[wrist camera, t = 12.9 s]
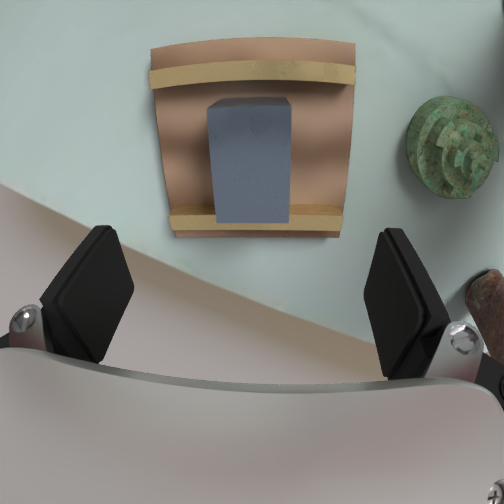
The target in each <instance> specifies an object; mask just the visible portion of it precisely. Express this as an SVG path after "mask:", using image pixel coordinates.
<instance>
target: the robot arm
mask: <svg viewBox="0 0 504 504" xmlns="http://www.w3.org/2000/svg"><path fill="white" fill-rule="evenodd" d="M133 292H134V284H133V281H132V278H131V275H130V272H129V269H128V267H127V264H126V261H125V258H124V255H123V252H122V248H121V245H120V242H119V239H118V236H117V233H116V231H115V230H114V229H112V227H111V226H109V225H100V226H95V227H94V228H93V229H92V230H91V232H90V233H89V234H88V235H87V237H86V238H85V239H84V240H83V241H82V243H81V244H80V245H79V246H78V248H77V249H76V250H75V251H74V253H73V254H72V255H71V256H70V258H69V259H68V260H67V262H66V263H65V264H64V266H63V267H62V268H61V270H60V271H59V272H58V274H57V275H56V276H55V278H54V279H53V281H52V282H51V284H50V285H49V286H48V288H47V289H46V291H45V292H44V293H43V295H42V296H41V298H40V299H39V300H40V302H41V303H42V305H43V307H42V309H40V308H39V307H38V306H37V305H34V304H31V305H27V306H24V307H22V308H21V309H19V310H18V311H17V312H16V313H15V314H14V316H13V317H12V319H11V321H10V325H9V333H7V334H6V335H4V336H2V337H0V504H504V365H502V364H501V363H499V362H498V361H496V360H494V359H493V358H491V357H490V356H488V355H487V354H485V353H484V352H483V350H484V342H483V338H482V336H481V334H480V333H479V331H478V330H477V329H476V328H475V327H474V326H472V325H471V324H470V323H467V322H465V321H453V322H451V321H450V319H449V317H448V313H447V311H446V308H445V306H444V304H443V302H442V300H441V298H440V296H439V294H438V292H437V290H436V288H435V286H434V284H433V282H432V280H431V279H430V277H429V275H428V273H427V271H426V269H425V267H424V266H423V264H422V262H421V260H420V258H419V257H418V255H417V253H416V251H415V250H414V248H413V246H412V245H411V243H410V241H409V239H408V238H407V236H406V235H405V233H404V231H403V230H402V229H400V228H386V229H385V230H384V232H380V234H379V236H378V241H377V245H376V249H375V253H374V256H373V260H372V264H371V268H370V271H369V275H368V278H367V282H366V285H365V289H364V301H365V305H366V308H367V312H368V316H369V319H370V323H371V327H372V331H373V335H374V339H375V343H376V347H377V351H378V355H379V360H380V365H381V369H382V373H383V376H384V377H388V381H376V382H362V383H342V384H315V385H277V384H276V385H275V384H248V383H230V382H217V381H206V380H195V379H187V378H178V377H170V376H163V375H156V374H149V373H143V372H137V371H131V370H126V369H120V368H115V367H110V366H105V365H100V364H99V362H100V361H102V360H103V359H104V356H105V354H106V351H107V349H108V347H109V344H110V342H111V340H112V338H113V335H114V333H115V331H116V329H117V326H118V324H119V322H120V320H121V317H122V316H123V313H124V311H125V309H126V307H127V305H128V303H129V300H130V298H131V296H132V294H133Z"/></svg>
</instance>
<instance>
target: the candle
mask: <svg viewBox="0 0 504 504" xmlns="http://www.w3.org/2000/svg"><path fill="white" fill-rule="evenodd" d="M465 303H466V305H467V307H468V309H469V311H470V313H471V315H472V317H473V319H474V321H475V323H476V325H477V327H478V329H479V332H480V333H481V336H482V338H483V340H484V342H485V344H486V346H487V349H488V351H489V353H490V355H491V358H493V359H494V360H496V361H498V362H499V363H501V364H502V365H504V277H503V276H502V274H501V273H500V271H499V270H496V269H493V270H490V271H489V272H488V273H487V274H485V275H483V276H480V277H479V278H477V279H475V280H474V281H473V282H472V284H471V286H470V287H469V289H468V293H467V296H466V300H465Z"/></svg>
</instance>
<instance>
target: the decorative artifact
mask: <svg viewBox="0 0 504 504" xmlns="http://www.w3.org/2000/svg"><path fill="white" fill-rule="evenodd" d="M406 151H407V157H408V161H409V164H410V166H411V168H412V170H413V172H414V173H415V175H416V176H417V177H418V178H419V179H420V180H421V181H422V182H423V183H424V184H425V185H426V186H427V187H428V188H429V189H430V190H431V191H433V192H434V193H435V194H437V195H439V196H441V197H443V198H448V199H458V198H461V199H465V198H470V197H471V193H473V192H474V191H475V190H476V189H478V188H479V187H480V186H481V185H482V184H483V182H484V181H485V179H486V178H487V176H488V174H489V172H490V170H491V167H492V164H493V161H496V162H498V160H499V145H498V140H497V136H496V135H495V134H494V133H493V130H492V127H491V124H490V122H489V120H488V119H487V117H486V116H485V114H484V113H483V112H482V111H481V110H480V109H479V108H478V107H477V106H475V105H473V104H472V103H469V102H467V101H464V100H461V99H458V98H454V97H450V96H439V97H435V98H433V99H430V100H429V101H427V102H425V103H424V104H423V105H422V106H421V107H420V108H419V109H418V110H417V111H416V113H415V114H414V116H413V118H412V120H411V122H410V125H409V128H408V131H407V137H406Z"/></svg>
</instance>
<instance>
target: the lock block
mask: <svg viewBox="0 0 504 504" xmlns="http://www.w3.org/2000/svg"><path fill="white" fill-rule="evenodd" d="M206 110H207V123H208V136H209V148H210V160H211V171H212V182H213V192H214V203H215V213H216V222H217V223H289V206H290V175H291V121H292V106H291V105H290V103H289V101H288V100H287V98H286V97H236V98H221V99H219V100H218V101H217V102H215V103H214V104H212V105H211V106H209V107H208V108H207V109H206Z"/></svg>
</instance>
